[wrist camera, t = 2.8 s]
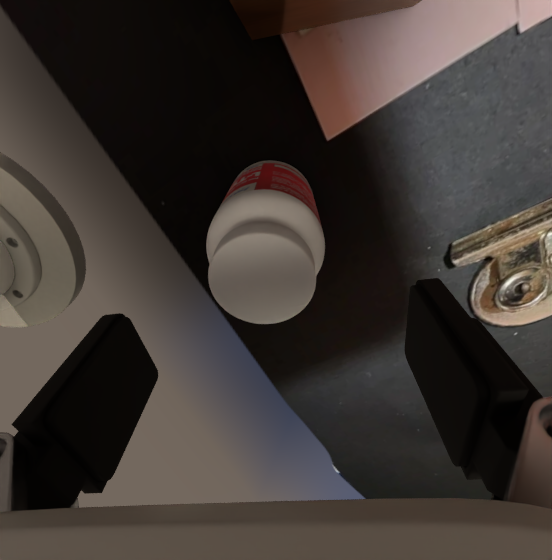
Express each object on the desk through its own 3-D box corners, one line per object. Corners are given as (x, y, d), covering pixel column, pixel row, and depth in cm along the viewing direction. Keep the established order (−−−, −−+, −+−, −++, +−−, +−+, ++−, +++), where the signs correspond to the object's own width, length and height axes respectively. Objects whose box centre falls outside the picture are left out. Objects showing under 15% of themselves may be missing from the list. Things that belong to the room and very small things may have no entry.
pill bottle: (257, 139, 20) (233, 180, 10) (329, 190, 22) (365, 265, 12) (215, 214, 23) (167, 300, 13) (282, 254, 24) (281, 355, 15)
